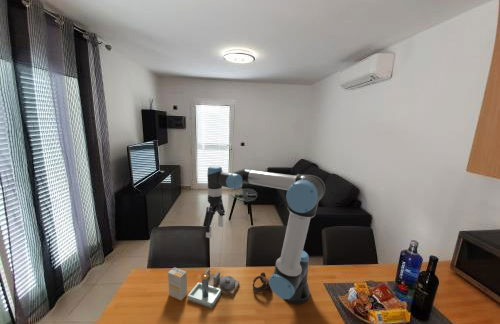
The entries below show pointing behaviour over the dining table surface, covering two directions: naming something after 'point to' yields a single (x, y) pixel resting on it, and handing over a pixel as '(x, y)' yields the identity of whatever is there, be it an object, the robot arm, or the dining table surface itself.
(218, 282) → the pulley block
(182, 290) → the supplement box
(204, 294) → the lock pin
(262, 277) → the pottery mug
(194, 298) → the tray
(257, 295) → the dining table surface
